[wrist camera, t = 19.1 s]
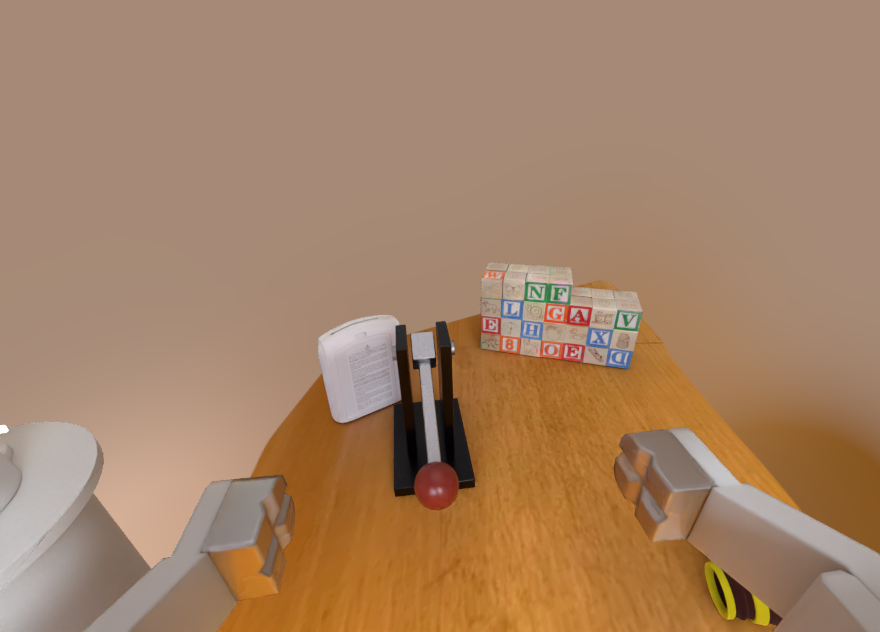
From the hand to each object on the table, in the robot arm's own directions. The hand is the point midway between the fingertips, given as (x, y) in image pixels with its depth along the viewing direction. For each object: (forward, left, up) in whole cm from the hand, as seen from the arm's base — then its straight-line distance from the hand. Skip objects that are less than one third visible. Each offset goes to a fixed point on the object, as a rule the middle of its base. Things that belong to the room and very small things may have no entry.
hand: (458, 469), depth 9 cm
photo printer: (-7, +32, -26) cm, 42 cm away
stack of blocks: (+20, +40, -26) cm, 52 cm away
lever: (0, +20, -18) cm, 26 cm away
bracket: (0, +24, -26) cm, 35 cm away
